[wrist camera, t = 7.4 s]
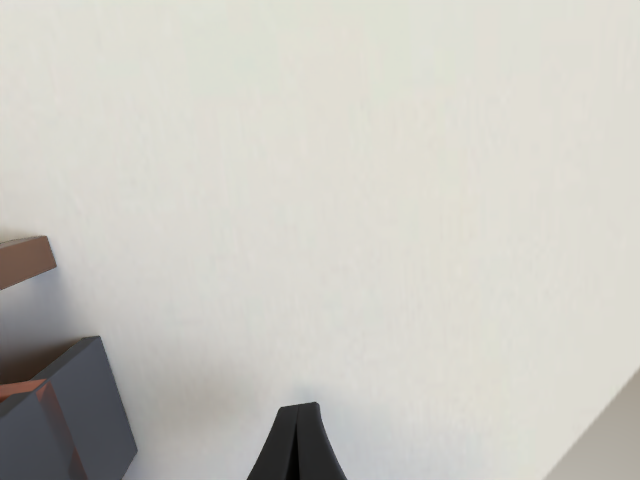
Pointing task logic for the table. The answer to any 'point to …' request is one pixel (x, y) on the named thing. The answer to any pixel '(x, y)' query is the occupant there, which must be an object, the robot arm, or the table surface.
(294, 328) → the table surface
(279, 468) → the robot arm
